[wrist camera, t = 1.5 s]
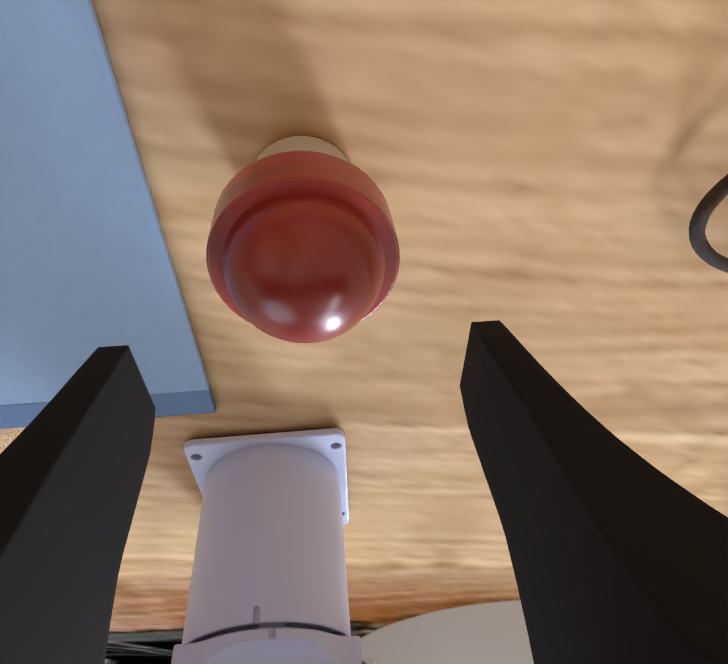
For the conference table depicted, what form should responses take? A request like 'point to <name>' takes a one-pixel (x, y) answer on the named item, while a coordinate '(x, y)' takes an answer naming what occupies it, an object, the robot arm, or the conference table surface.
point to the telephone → (699, 224)
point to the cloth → (79, 223)
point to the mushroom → (302, 242)
